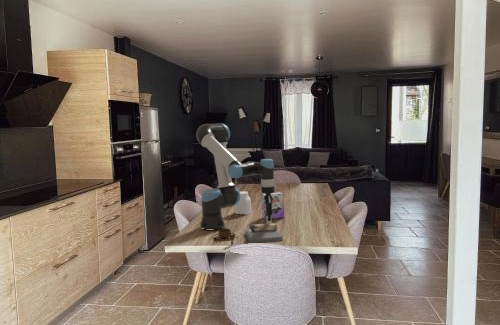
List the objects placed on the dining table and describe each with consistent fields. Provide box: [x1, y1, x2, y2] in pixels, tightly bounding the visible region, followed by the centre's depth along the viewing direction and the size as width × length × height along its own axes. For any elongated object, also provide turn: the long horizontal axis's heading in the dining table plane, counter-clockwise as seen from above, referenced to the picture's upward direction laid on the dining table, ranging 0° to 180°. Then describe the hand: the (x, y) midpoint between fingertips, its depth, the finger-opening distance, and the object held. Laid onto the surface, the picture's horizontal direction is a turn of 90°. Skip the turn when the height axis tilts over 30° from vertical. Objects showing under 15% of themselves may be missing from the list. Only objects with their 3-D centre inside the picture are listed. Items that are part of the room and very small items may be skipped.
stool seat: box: [244, 228, 283, 244], centre depth 209 cm, size 18×17×5 cm
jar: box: [234, 191, 252, 215], centre depth 266 cm, size 12×10×15 cm
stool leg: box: [248, 222, 278, 231], centre depth 215 cm, size 16×3×3 cm, turn 94°
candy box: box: [261, 192, 285, 220], centre depth 251 cm, size 14×6×16 cm, turn 105°
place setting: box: [213, 228, 236, 245], centre depth 207 cm, size 18×20×6 cm
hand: (269, 226), depth 218 cm, fingers closed
